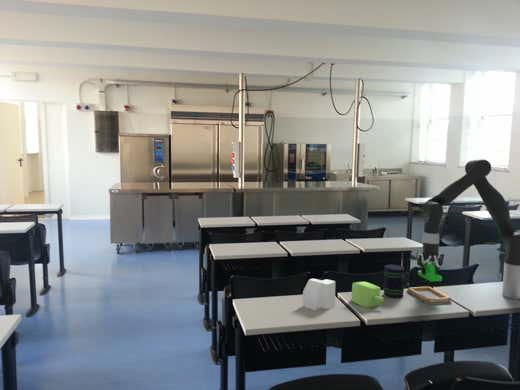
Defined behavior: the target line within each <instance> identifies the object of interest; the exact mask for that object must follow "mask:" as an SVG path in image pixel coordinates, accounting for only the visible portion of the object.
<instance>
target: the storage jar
mask: <svg viewBox="0 0 520 390" xmlns="http://www.w3.org/2000/svg"><path fill="white" fill-rule="evenodd" d="M383 272H384V274H383V277H384V283H383V296H384V295H385V296H384V297H387V298H389V299H402V298H403V297H404V293H405V291H404V288H405V286H404V279H405V267H404V266H402V265H400V264H386V265H384V271H383Z"/></svg>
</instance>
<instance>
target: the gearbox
mask: <svg viewBox="0 0 520 390" xmlns="http://www.w3.org/2000/svg"><path fill="white" fill-rule="evenodd" d="M351 286H352V287H351V299H350V300H351V302H353V303H355V304H357V305H359V306H362V307H364V308H367V309H369V308H373V307H376V306H377V307H378V306H379V305H380V302H381V303H384V297H383V296H380V295H381V287H379V286H378V285H375V284H373V283H370V282H367V281H358V282H357V281H356V282H353V283H352V285H351Z"/></svg>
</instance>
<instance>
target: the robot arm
mask: <svg viewBox="0 0 520 390" xmlns="http://www.w3.org/2000/svg"><path fill="white" fill-rule="evenodd" d="M464 171H465V174H463V176H461V177H460V178H458V179H457V180H455V181H454V182H452V183H450V184H449V185H448V186H446V187H445V188H444V189H443V190H442V191H440V192H439V193H438V194H436V195H435V196H433V197H431V198H430V199H427V200H426V202H425V203H423V206H422V213H423V214H425V215H426V216H429V217H428V220H425V222H424V224H423V225H424V228H423V235H422V253H417V254H416V264H417V266H418V267H420V271H421V273H422V274H423V275H425V271H426V268H425V267H426V264H429V263H430V262H432V264H433V265H434V268H435V274H437V275H438V274H439V267H441V266H442V267H443V264H444V257H445V254H444V253H441V252H439V250H440V224H441V222H442V219H443V216H444V215H443V214H444V208H443V206H448V205H450V204H451V203H453V201H455V200H456V199H458V197H460V195H461V194H463V193H464V192H465V191H466V190H467V189H469V188H470V187H471V186H474V188H475V189H476V190H477V193H478V195H479V196H480V198H481V200H482V202H483V204H484V206H485V208H486V211H487V212H488V213H489V215H490V217H491V219H492V220H493V223H494V224H495V225H496V228H497V229H498V233H499V235H500V237H501V240H502V242H503V243H502V244H504V245H505V246H506V247H507V248H508V255H506V256H504V261H503V278H502V279H503V280H502V293H501V295H502V296H503V297H505V298H508V299H514V300H515V299H516V300H520V232H518V230H517V229H516V227H515V225H513V224H514V223H513V222H512V220H511V213H510V207H509V205H508V203H507V201H506V199H505V198H504V195H502V193H500V191H499V190H498V189H496V187H494V186H493V185H492V184H491V182H490V181H489V180H488V178H487V176H489V174H490V173H491V171H492V165H491V162H490V161H489V160H487V159H484V158H482V159H479V158H478V159H473V160H470V161H467V162H466V164H465V166H464Z"/></svg>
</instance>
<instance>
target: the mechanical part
mask: <svg viewBox="0 0 520 390" xmlns="http://www.w3.org/2000/svg"><path fill="white" fill-rule="evenodd" d="M434 266H435V265H434V263H428V264H426V267H425V268H426V271H425V275H423V274H422V273H421V270H418V271H417V275H418V276H420V277H421V278H423V279H425V280H426V281H429V282H441V281H443V276H441V275H440V274H438V273H437V274H435V268H434Z"/></svg>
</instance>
